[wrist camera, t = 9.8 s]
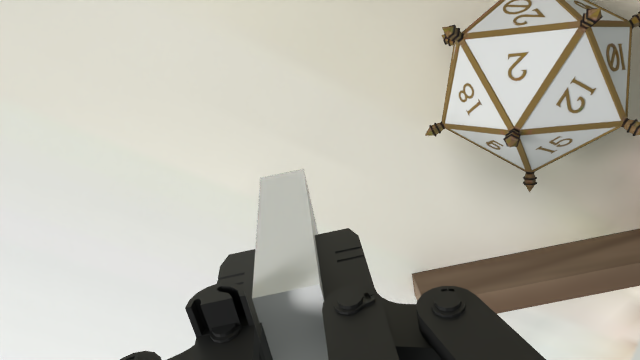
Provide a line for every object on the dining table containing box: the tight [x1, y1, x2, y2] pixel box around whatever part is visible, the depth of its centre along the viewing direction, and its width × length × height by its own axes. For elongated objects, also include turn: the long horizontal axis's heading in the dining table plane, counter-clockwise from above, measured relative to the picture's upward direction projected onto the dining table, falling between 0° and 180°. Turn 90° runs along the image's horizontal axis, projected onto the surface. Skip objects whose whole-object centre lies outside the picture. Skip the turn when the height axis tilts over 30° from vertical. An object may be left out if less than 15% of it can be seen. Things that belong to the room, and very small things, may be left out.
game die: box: [426, 0, 640, 192], centre depth 21 cm, size 9×8×10 cm
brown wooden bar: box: [412, 229, 640, 314], centre depth 24 cm, size 21×18×3 cm
